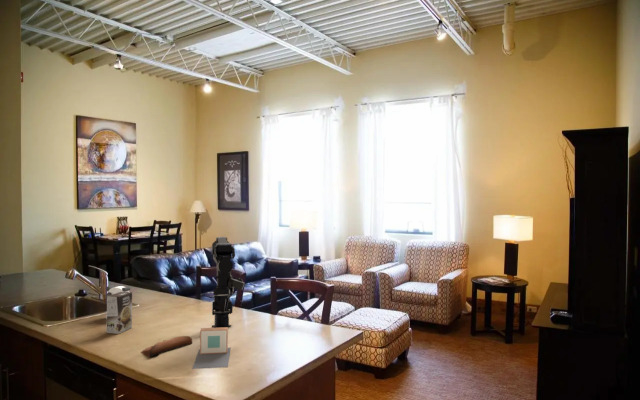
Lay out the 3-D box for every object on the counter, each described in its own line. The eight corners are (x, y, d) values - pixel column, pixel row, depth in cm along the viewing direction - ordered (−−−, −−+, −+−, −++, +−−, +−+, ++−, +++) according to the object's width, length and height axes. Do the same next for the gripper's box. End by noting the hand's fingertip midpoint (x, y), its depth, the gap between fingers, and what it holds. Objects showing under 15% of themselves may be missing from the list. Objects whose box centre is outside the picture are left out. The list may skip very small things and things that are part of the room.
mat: (199, 350, 163) (199, 348, 163) (230, 349, 165) (230, 347, 165) (192, 370, 144) (192, 368, 144) (227, 368, 146) (227, 367, 146)
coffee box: (119, 334, 181) (119, 296, 181) (105, 333, 182) (106, 295, 182) (132, 327, 190) (132, 292, 190) (119, 326, 191) (120, 291, 191)
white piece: (99, 318, 203) (99, 287, 203) (117, 312, 214) (117, 283, 214) (119, 321, 199) (119, 289, 199) (136, 315, 210) (137, 285, 210)
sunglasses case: (180, 340, 174) (185, 327, 172) (188, 352, 171) (194, 339, 169) (138, 352, 160) (143, 339, 158) (147, 366, 156) (152, 352, 154)
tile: (200, 351, 160) (201, 328, 160) (227, 350, 162) (228, 327, 162) (199, 354, 158) (200, 330, 157) (227, 353, 159) (227, 329, 159)
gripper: (241, 272, 170) (241, 312, 167) (245, 272, 188) (245, 307, 186) (213, 273, 169) (213, 314, 166) (219, 272, 187) (219, 309, 185)
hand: (224, 311), depth 176 cm, fingers open, 9 cm apart
